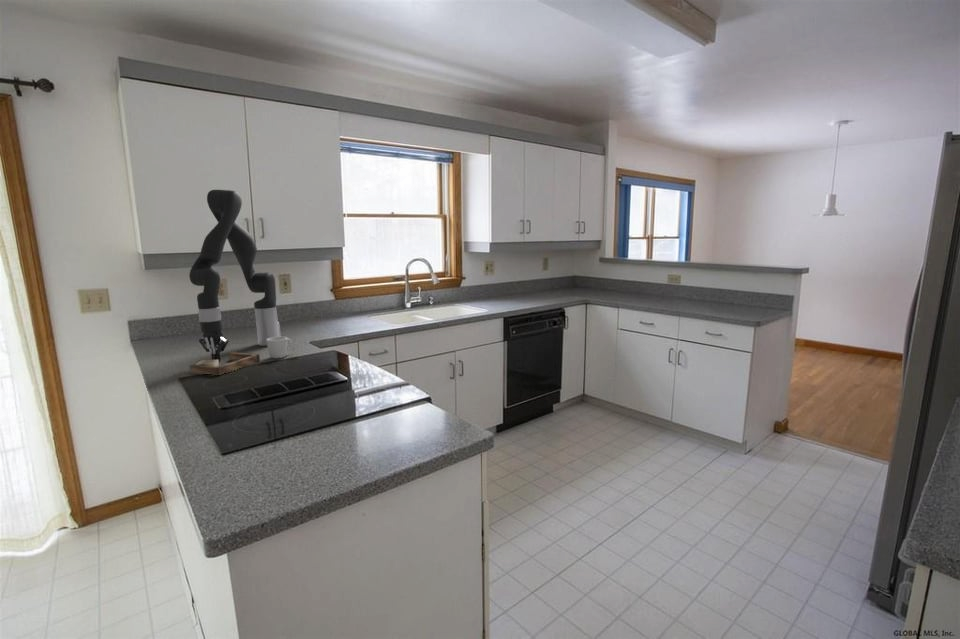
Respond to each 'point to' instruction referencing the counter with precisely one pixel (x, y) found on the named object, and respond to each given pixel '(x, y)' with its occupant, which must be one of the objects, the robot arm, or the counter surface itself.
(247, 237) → the robot arm
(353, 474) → the counter surface
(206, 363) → the maple tile
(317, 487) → the counter surface
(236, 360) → the wooden u-shaped bracket
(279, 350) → the cup
